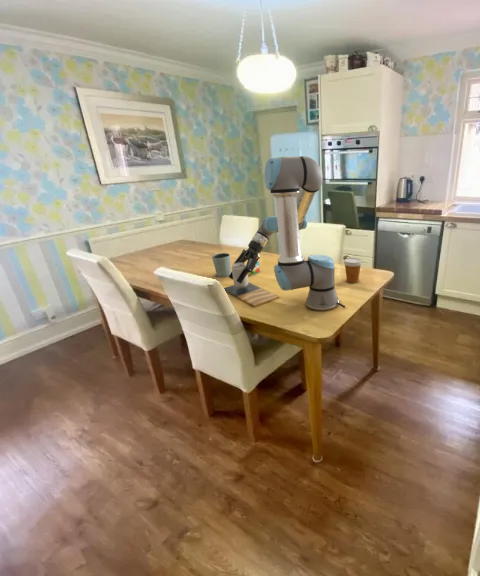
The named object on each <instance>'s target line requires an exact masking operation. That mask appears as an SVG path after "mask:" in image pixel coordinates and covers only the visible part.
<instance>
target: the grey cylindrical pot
mask: <svg viewBox="0 0 480 576" xmlns="http://www.w3.org/2000/svg"><path fill="white" fill-rule="evenodd" d="M211 259H212V262H213V265H214V270H215V273H216V276H217V277H218V278H225V277H229V275H230V274H231V272H232V265H231V254H230V253H227V252H221V253H215V254H213V255H212V256H211Z"/></svg>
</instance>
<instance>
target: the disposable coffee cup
mask: <svg viewBox="0 0 480 576" xmlns="http://www.w3.org/2000/svg"><path fill="white" fill-rule="evenodd" d="M343 264H344V269H345V276H346V277H345V278H346V282H347V283H349V284H355V283H358V282H359V279H360V272H361V265H362V260H361V259H360V258H358V257H348V258H346V259H344V262H343Z"/></svg>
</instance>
